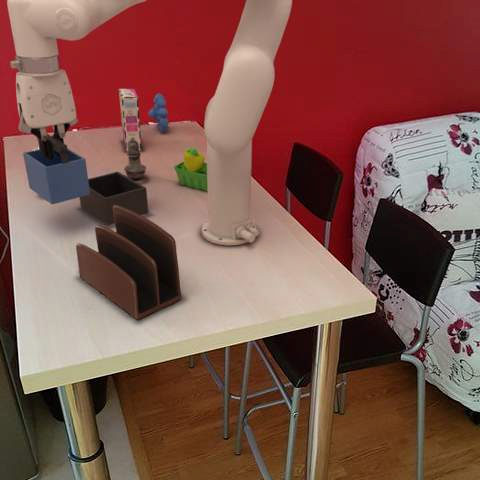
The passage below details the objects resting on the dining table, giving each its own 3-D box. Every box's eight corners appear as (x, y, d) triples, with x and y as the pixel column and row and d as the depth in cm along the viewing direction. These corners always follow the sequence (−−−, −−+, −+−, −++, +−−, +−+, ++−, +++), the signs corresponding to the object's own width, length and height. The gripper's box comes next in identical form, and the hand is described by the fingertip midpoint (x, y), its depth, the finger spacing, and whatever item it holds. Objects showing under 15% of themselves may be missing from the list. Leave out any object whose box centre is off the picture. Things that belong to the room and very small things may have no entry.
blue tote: (90, 194, 123) (83, 141, 117) (51, 204, 118) (42, 150, 112) (67, 179, 130) (59, 128, 124) (29, 188, 125) (19, 135, 119)
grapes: (146, 126, 197) (143, 90, 191) (165, 125, 200) (163, 89, 193) (152, 136, 188) (150, 99, 182) (173, 135, 190) (171, 98, 184)
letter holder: (122, 261, 120) (115, 198, 112) (182, 300, 108) (178, 233, 101) (79, 277, 113) (68, 212, 106) (137, 321, 102) (129, 251, 94)
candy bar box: (143, 151, 176) (138, 96, 168) (126, 152, 175) (120, 97, 166) (139, 139, 185) (134, 87, 177) (123, 140, 184) (117, 88, 175)
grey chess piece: (135, 186, 153) (131, 142, 147) (120, 180, 156) (115, 137, 150) (151, 180, 157) (148, 137, 151) (137, 174, 160) (133, 132, 154)
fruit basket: (224, 184, 156) (224, 144, 150) (206, 195, 149) (205, 153, 144) (189, 176, 161) (187, 136, 155) (170, 186, 154) (168, 145, 148)
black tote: (148, 215, 138) (146, 187, 135) (108, 227, 132) (104, 199, 128) (120, 197, 146) (117, 171, 143) (81, 208, 140) (77, 181, 136)
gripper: (5, 73, 103) (24, 170, 113) (86, 63, 113) (97, 154, 122) (-11, 65, 108) (9, 159, 118) (68, 57, 117) (80, 144, 127)
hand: (54, 156), depth 120 cm, fingers closed on blue tote
